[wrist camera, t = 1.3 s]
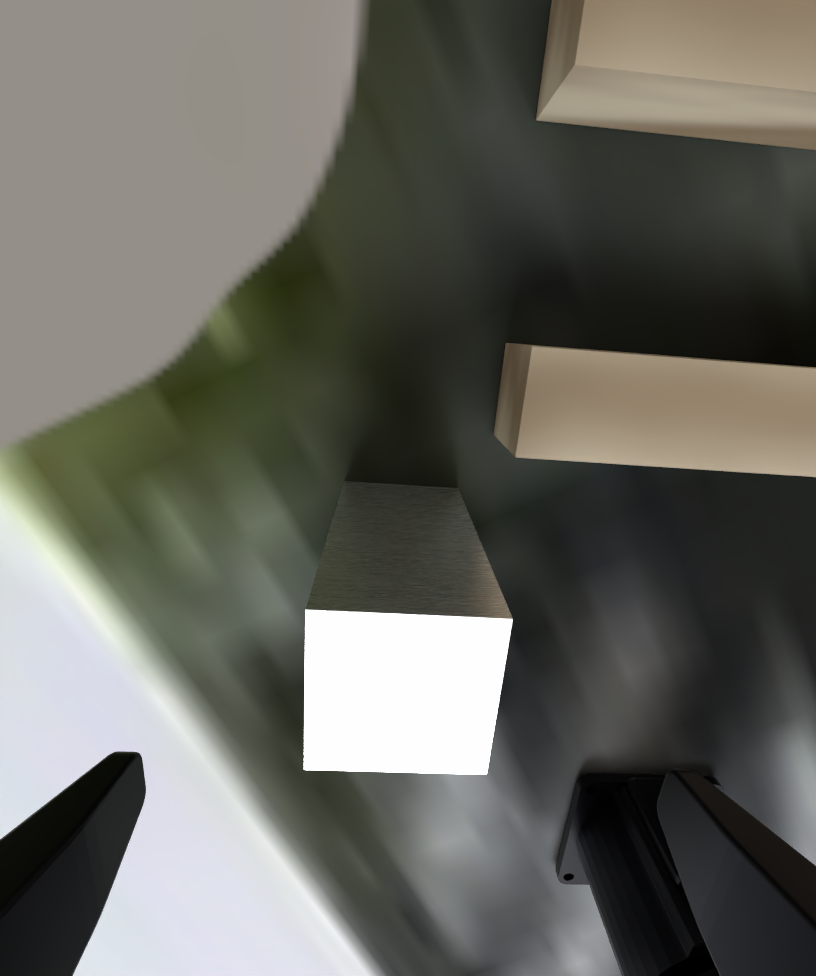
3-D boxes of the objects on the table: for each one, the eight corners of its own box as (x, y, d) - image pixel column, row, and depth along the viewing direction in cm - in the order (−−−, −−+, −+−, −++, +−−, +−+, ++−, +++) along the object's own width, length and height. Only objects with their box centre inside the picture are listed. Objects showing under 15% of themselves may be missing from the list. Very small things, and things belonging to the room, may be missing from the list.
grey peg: (446, 587, 18) (486, 774, 11) (340, 582, 18) (303, 769, 10) (457, 488, 17) (512, 619, 9) (344, 481, 17) (305, 609, 9)
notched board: (932, 464, 17) (1040, 491, 14) (493, 434, 16) (515, 457, 13) (1113, 52, 13) (1308, -22, 11) (554, -16, 12) (602, -118, 10)
